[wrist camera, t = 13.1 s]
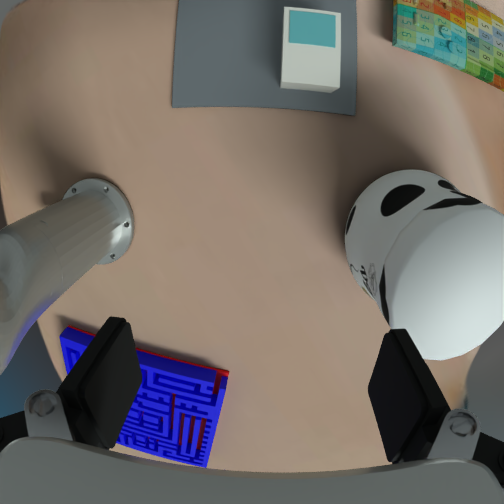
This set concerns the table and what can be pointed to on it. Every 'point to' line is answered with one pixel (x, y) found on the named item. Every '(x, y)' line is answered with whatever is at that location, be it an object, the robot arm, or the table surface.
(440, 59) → the puzzle game
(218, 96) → the mat
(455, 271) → the milk container
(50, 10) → the table surface
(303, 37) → the card box
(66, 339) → the maze
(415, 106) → the table surface
